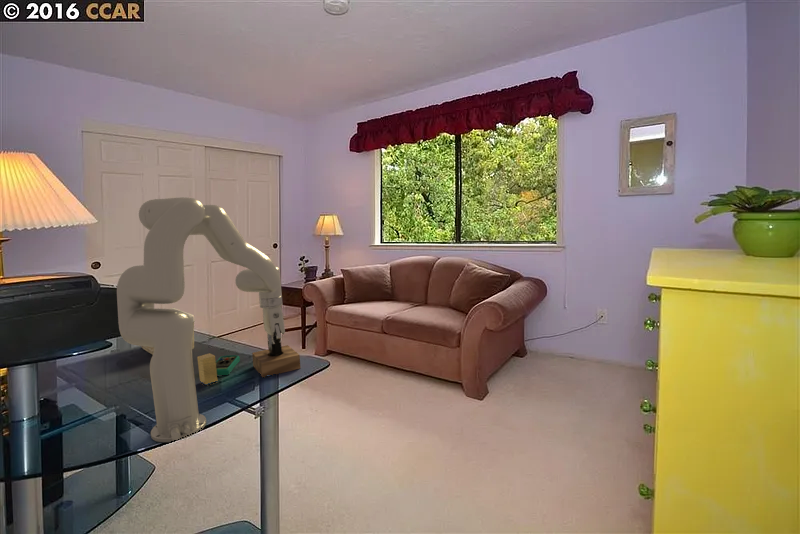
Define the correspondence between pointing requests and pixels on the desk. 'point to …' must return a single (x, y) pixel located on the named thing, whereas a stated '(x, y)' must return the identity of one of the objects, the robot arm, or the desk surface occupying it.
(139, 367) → the desk surface
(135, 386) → the desk surface
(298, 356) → the bore block
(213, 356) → the square bit
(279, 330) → the robot arm
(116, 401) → the desk surface
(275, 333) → the cylinder
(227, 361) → the digital multimeter
